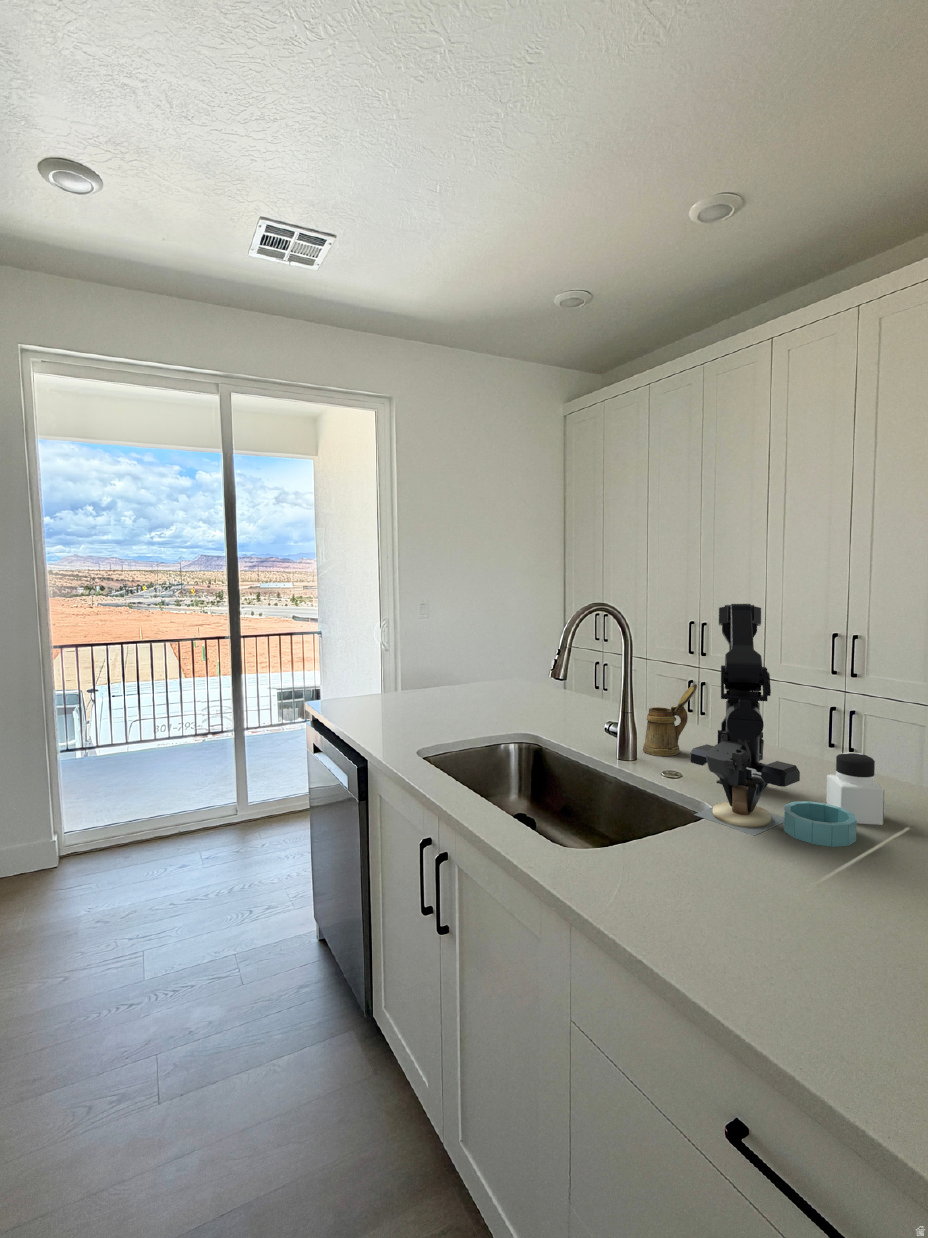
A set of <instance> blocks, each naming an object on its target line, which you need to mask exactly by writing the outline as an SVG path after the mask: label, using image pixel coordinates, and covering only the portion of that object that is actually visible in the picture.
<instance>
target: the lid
mask: <svg viewBox="0 0 928 1238" xmlns="http://www.w3.org/2000/svg"><path fill="white" fill-rule="evenodd" d="M747 800H748V787H747V786H741V785H736V786H733V787H732V807H731V806H730V804H729V802H728V801H725V802H724V801H723V802H719V803H717V804H714V805H713V806H712V807H713V816H714V817H715V818H716V819H718V820H719V821H721V822H724V823H727V824H730V825H734V826H739V827H748V828H757V827H764V826H767V825H769V824H770V823H771V814H772V813H771V812H770V811H768V809H765V808H763V807H760V806H758V805H756V806H755V808H754V810H753V812H748V807H747ZM770 813H771V814H770Z"/></svg>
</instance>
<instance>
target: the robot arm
mask: <svg viewBox="0 0 928 1238" xmlns="http://www.w3.org/2000/svg"><path fill="white" fill-rule="evenodd" d="M761 625H762V607H759V606H755V605H754V604H751V603H730V604H724V606H720V607H718V626H721V634H722V636H723V637H724V639H725V641H726V642H727V645H728V651H727V652H726V653H725V654H724V664H722V665H720V699H721V700H726V701H725V716H724V717H723V719H722V721H721V722H720V726H721V727H720V729H717V743H716V744H715V745H712V744H711V745H710V744H704V745H700V746H697V747H693V748H692V749H691V751H690V753H689V762H690V763H691V764H695V765H698V766H705V765H706V764H707V768H708V770H709V772H711V773H713V774H715V775H716V776H717V778H718V780H716V784H719V785H722V788H723V790H724V794H725V796H726V799H727V802H728V801H729V804H730V806H731V807H732V787H733V786H736V785H741V786H747V787H748V800H747V807H748V812H753V810H754V808H755V806H757V804H758V803H759V800H760V798H761V796H762V794H763V792H764V791H765V789H766V788H767V786H768V785H769V784H770V785H773V786H777V787H781V788H782V787H784V788H785V787H787V786H791V785H793V784H795V783H798V782H801V781H800V780H801V777H800V776H801V772H800V770H799V768H798V767H797V765H796V764H793V763H788V762H782V761H779V760H776V761H773V762H769V763H767V764H766V763H763V762H760V761H762V760H764V743H765V740H764V732H763V730H764V728H765V727H764V726H765V725H764V724H765V723H764V720H763V717H762V716H763V715H762V713H761V708H760V707H761V704H760V702H768V697H771V694H772V689H771V679H770V678H771V674H770V672H769V671H768V668H767V666H763V661H762V660H763V659H762V655H761V654H760V653H759V652H757V651H756V650H755V649H754V648H755V646H754V638H755V636H756V635H757V632H758V627H761ZM725 690H726V692H725Z"/></svg>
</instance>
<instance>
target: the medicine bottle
mask: <svg viewBox="0 0 928 1238" xmlns="http://www.w3.org/2000/svg"><path fill="white" fill-rule="evenodd" d="M835 759H836V760H835V761H836V762H835V774H830V773H829V774H827V776H826V804H829V805H833V806H837V807H840V808H843V809H845V810H847V811H849V812H851V813H853V814H854V815H855V818H856V820H857V824H865V825H880V826H882V825H884V815H885V811H884V810H885V788H884V787H883V786H882V785H880V784H879V783H877V782H876V781H875V765H876V764H875V763H876V762H875V760H874V759H873V758H872V757H871V756H869V755H866V754H863V753H860V752H859V753H858V752H842V753H838V754H837V755H836V757H835Z"/></svg>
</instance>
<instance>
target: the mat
mask: <svg viewBox="0 0 928 1238" xmlns="http://www.w3.org/2000/svg"><path fill="white" fill-rule="evenodd" d="M727 802H729V801H728V800H727ZM769 813H770V814H771V823H770V824H769V825H767V826H764V827H757V828H748V827H739V826H734V825H730V824H727V823H724V822H721V821H719V820H718V819H716V818H715V817H714V816H713V806H712V807H710V808H707V809H705V810H703V811H700V812H697V813H695V814H693V816H696V817H699V818H702V819H704V820H708V821H710V822H714V823H716V824H718V825H722V826H725V827H728V828H731V829H734V830H736V831H739V832H742V833H745V834H747V835H751V836H754V837H756V836H758V835H760V834H762V833H764V832H766V831H768V830H771V829H772V828H775V827H777V826H779V825H781V824H782V825H783V824H784V816H780V815H778V814H774V813H771V812H769Z"/></svg>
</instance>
